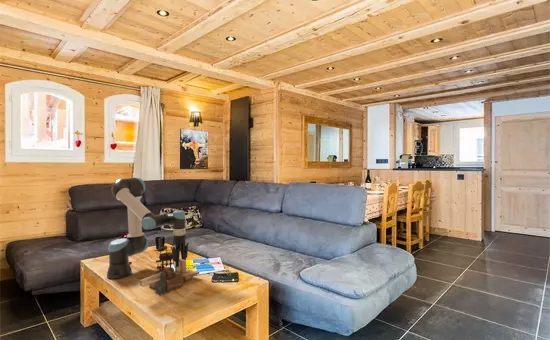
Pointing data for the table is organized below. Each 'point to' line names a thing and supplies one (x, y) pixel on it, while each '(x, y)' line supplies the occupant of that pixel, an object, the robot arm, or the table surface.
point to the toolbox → (167, 282)
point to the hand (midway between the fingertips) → (180, 270)
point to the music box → (164, 259)
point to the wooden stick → (150, 279)
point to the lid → (185, 270)
